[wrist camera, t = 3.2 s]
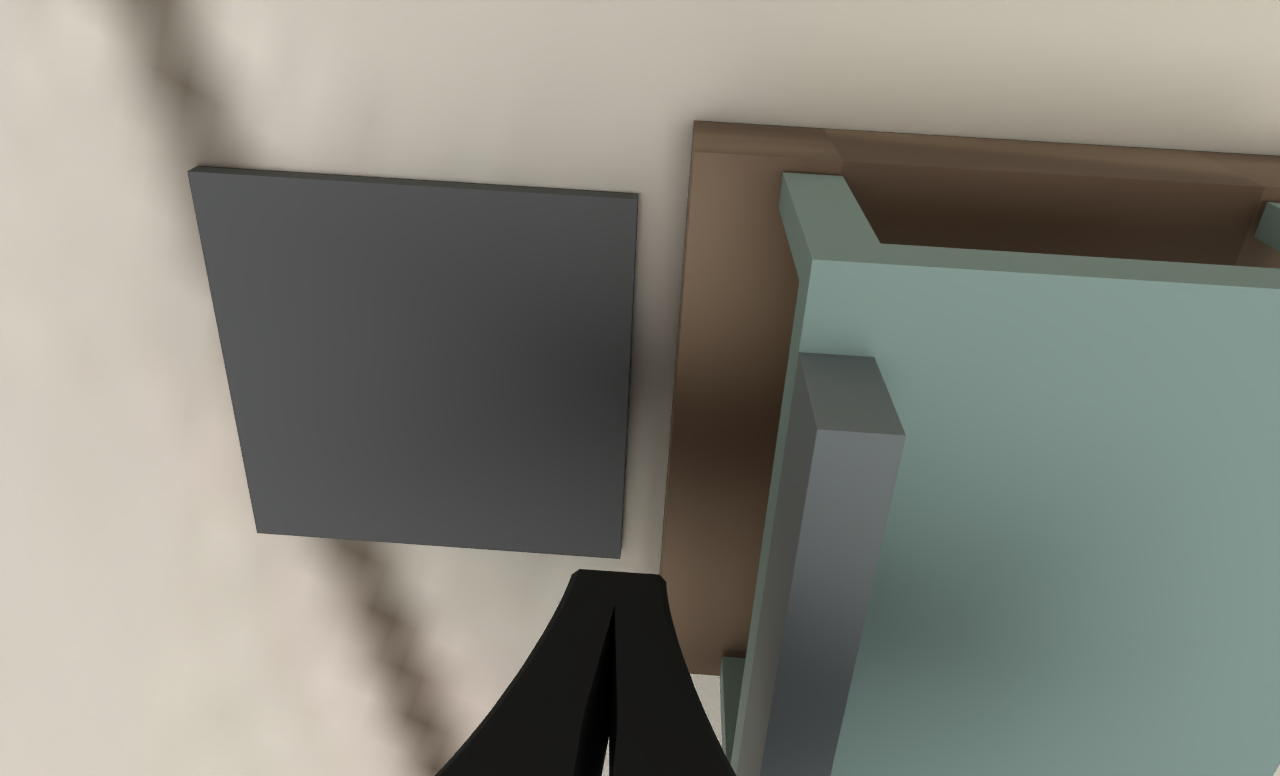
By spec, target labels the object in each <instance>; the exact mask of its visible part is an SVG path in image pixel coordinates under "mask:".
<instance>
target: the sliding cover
mask: <svg viewBox="0 0 1280 776" xmlns="http://www.w3.org/2000/svg"><path fill="white" fill-rule="evenodd" d="M778 208H779V211H780V215H781V218H782V222H783V225H784V228H785V232H786V235H787V239H788V242H789V246H790V249H791V253H792V256H793V260H794V263H795V267H796V270H797V274H798V277H799V288H798V295H797V302H796V309H795V316H794V323H793V330H792V337H791V344H790V351H789V358H788V365H787V372H786V379H785V386H784V393H783V400H782V407H781V414H780V421H779V428H778V435H777V442H776V449H775V456H774V463H773V470H772V477H771V484H770V491H769V498H768V505H767V512H766V519H765V526H764V533H763V541H762V548H761V555H760V562H759V569H758V576H757V583H756V590H755V597H754V604H753V611H752V618H751V625H750V632H749V639H748V646H747V653H746V658H735V657H722V662H721V670H720V696H721V724H722V749H723V751H724V753H725V755H726V757H727V759H728V761H729V763H730V765H731V767H732V768H733V770H734V772H735V774H736V776H1273V775H1274V773H1275V771H1276V769H1277V768H1278V766H1279V764H1280V269H1277V268H1261V267H1245V266H1229V265H1213V264H1198V263H1182V262H1166V261H1150V260H1134V259H1119V258H1103V257H1087V256H1071V255H1055V254H1039V253H1024V252H1008V251H992V250H976V249H960V248H944V247H929V246H913V245H897V244H881V243H880V242H879V240H878V238H877V236H876V235H875V233H874V231H873V229H872V227H871V226H870V224H869V222H868V220H867V219H866V217H865V215H864V213H863V211H862V210H861V208H860V206H859V204H858V202H857V201H856V199H855V197H854V195H853V193H852V192H851V190H850V188H849V186H848V185H847V183H846V181H845V179H844V177H843V176H834V175H818V174H801V173H785V172H783V175H782V183H781V191H780V199H779V207H778ZM1254 237H1255V238H1256V239H1258V240H1260V241H1262V242H1263V243H1265V244H1267V245H1268V246H1270V247H1272V248H1273V249H1275V250H1277V251H1279V252H1280V203H1272V202H1267V205H1266V207H1265V210H1264V212H1263V215H1262V218H1261V220H1260V223H1259V225H1258V228H1257V230H1256V233H1255V235H1254Z"/></svg>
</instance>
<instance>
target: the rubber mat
mask: <svg viewBox="0 0 1280 776" xmlns="http://www.w3.org/2000/svg"><path fill="white" fill-rule="evenodd" d="M187 172H188V177H189V182H190V187H191V192H192V198H193V203H194V208H195V213H196V218H197V224H198V229H199V234H200V239H201V244H202V249H203V255H204V260H205V265H206V270H207V275H208V281H209V286H210V291H211V296H212V301H213V306H214V312H215V317H216V322H217V327H218V332H219V337H220V343H221V348H222V353H223V358H224V363H225V369H226V374H227V379H228V384H229V389H230V394H231V400H232V405H233V410H234V415H235V420H236V426H237V431H238V436H239V441H240V446H241V451H242V457H243V462H244V467H245V472H246V477H247V483H248V488H249V493H250V498H251V503H252V508H253V514H254V519H255V524H256V529H257V533H264V534H278V535H292V536H306V537H320V538H334V539H348V540H362V541H376V542H390V543H404V544H418V545H432V546H446V547H460V548H474V549H488V550H502V551H516V552H530V553H544V554H559V555H573V556H587V557H601V558H615V559H620V555H621V543H622V522H623V502H624V481H625V461H626V440H627V419H628V399H629V378H630V358H631V337H632V316H633V296H634V275H635V255H636V234H637V213H638V194H633V193H617V192H601V191H585V190H569V189H553V188H537V187H521V186H505V185H489V184H473V183H457V182H441V181H425V180H409V179H393V178H377V177H361V176H345V175H329V174H313V173H297V172H280V171H264V170H248V169H232V168H216V167H200V166H197V167H195V168H193V169H191V170H189V171H187Z"/></svg>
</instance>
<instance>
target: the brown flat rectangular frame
mask: <svg viewBox="0 0 1280 776" xmlns="http://www.w3.org/2000/svg"><path fill="white" fill-rule="evenodd" d="M783 172H785V173H801V174H818V175H834V176H843V177H844V179H845V181H846V183H847V185H848V186H849V188H850V190H851V192H852V193H853V195H854V197H855V199H856V201H857V202H858V204H859V206H860V208H861V210H862V211H863V213H864V215H865V217H866V219H867V220H868V222H869V224H870V226H871V227H872V229H873V231H874V233H875V235H876V236H877V238H878V240H879V242H880V243H881V244H897V245H913V246H929V247H944V248H960V249H976V250H992V251H1008V252H1024V253H1039V254H1055V255H1071V256H1087V257H1103V258H1119V259H1134V260H1150V261H1166V262H1182V263H1198V264H1213V265H1229V266H1245V267H1261V268H1277V269H1280V252H1279V251H1277V250H1275V249H1273V248H1272V247H1270V246H1268V245H1267V244H1265V243H1263V242H1262V241H1260V240H1258V239H1256V238H1255V237H1254V235H1255V233H1256V230H1257V228H1258V225H1259V223H1260V220H1261V218H1262V215H1263V212H1264V210H1265V207H1266V205H1267V202H1272V203H1280V156H1269V155H1252V154H1235V153H1219V152H1202V151H1186V150H1169V149H1153V148H1136V147H1120V146H1103V145H1087V144H1070V143H1054V142H1037V141H1020V140H1004V139H987V138H971V137H954V136H938V135H921V134H905V133H888V132H872V131H855V130H838V129H822V128H805V127H789V126H772V125H756V124H739V123H723V122H706V121H694V125H693V138H692V152H691V165H690V178H689V191H688V205H687V218H686V231H685V244H684V258H683V271H682V284H681V297H680V311H679V324H678V337H677V350H676V364H675V377H674V390H673V403H672V416H671V430H670V443H669V456H668V469H667V483H666V496H665V509H664V522H663V536H662V549H661V562H660V576H661V577H662V578H663V579H664V580H665V581H666V586H667V595H668V602H669V607H670V612H671V616H672V620H673V624H674V628H675V631H676V635H677V638H678V642H679V645H680V648H681V651H682V654H683V657H684V660H685V663H686V665H687V668H688V671H689V673H690V674H704V675H717V676H720V670H721V662H722V657H735V658H746V653H747V646H748V639H749V632H750V625H751V618H752V611H753V604H754V597H755V590H756V583H757V576H758V569H759V562H760V555H761V548H762V541H763V533H764V526H765V519H766V512H767V505H768V498H769V491H770V484H771V477H772V470H773V463H774V456H775V449H776V442H777V435H778V428H779V421H780V414H781V407H782V400H783V393H784V386H785V379H786V372H787V365H788V358H789V351H790V344H791V337H792V330H793V323H794V316H795V309H796V302H797V295H798V288H799V277H798V274H797V270H796V267H795V263H794V260H793V256H792V253H791V249H790V246H789V242H788V239H787V235H786V232H785V228H784V225H783V222H782V218H781V215H780V211H779V208H778V207H779V199H780V191H781V183H782V175H783Z"/></svg>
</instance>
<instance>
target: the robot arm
mask: <svg viewBox="0 0 1280 776" xmlns="http://www.w3.org/2000/svg"><path fill="white" fill-rule="evenodd" d="M608 739H609V776H736V774H735V772H734V770H733V768H732V767H731V765H730V763H729V761H728V759H727V757H726V755H725V753H724V751H723V749H722V747H721V745H720V743H719V741H718V739H717V737H716V735H715V733H714V731H713V729H712V726H711V724H710V722H709V720H708V718H707V715H706V713H705V711H704V709H703V706H702V704H701V702H700V699H699V697H698V694H697V692H696V689H695V687H694V684H693V682H692V679H691V676H690V673H689V671H688V668H687V665H686V663H685V660H684V657H683V654H682V651H681V648H680V645H679V642H678V638H677V635H676V631H675V628H674V624H673V620H672V616H671V612H670V607H669V602H668V595H667V586H666V581H665V580H664V579H663V578H662V577H661V576H660V575H656V574H642V573H628V572H613V571H599V570H584V569H579V570H578V571H576V572H575V573H573V574H572V576H571V578H570V581H569V584H568V586H567V588H566V591H565V593H564V595H563V597H562V599H561V601H560V603H559V605H558V607H557V609H556V611H555V613H554V615H553V617H552V618H551V620H550V622H549V624H548V626H547V627H546V629H545V631H544V633H543V634H542V636H541V638H540V639H539V641H538V642H537V644H536V646H535V647H534V649H533V650H532V652H531V654H530V655H529V657H528V658H527V660H526V662H525V663H524V665H523V666H522V668H521V669H520V671H519V672H518V674H517V675H516V676H515V678H514V679H513V681H512V682H511V683H510V685H509V686H508V688H507V689H506V690H505V692H504V693H503V694H502V696H501V697H500V699H499V700H498V701H497V703H496V704H495V706H494V707H493V708H492V710H491V711H490V712H489V714H488V715H487V716H486V717H485V719H484V720H483V721H482V722H481V724H480V725H479V726H478V727H477V729H476V730H475V731H474V732H473V733H472V735H471V736H470V737H469V738H468V739H467V741H466V742H465V743H464V744H463V745H462V746H461V748H460V749H459V750H458V751H457V752H456V753H455V755H454V756H453V757H452V758H451V759H450V760H449V761H448V762H447V763H446V764H445V766H444V767H443V768H442V769H441V770H440V771H439V772H438V773H437V774H436V775H435V776H602V770H603V765H604V760H605V755H606V749H607V744H608Z"/></svg>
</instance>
